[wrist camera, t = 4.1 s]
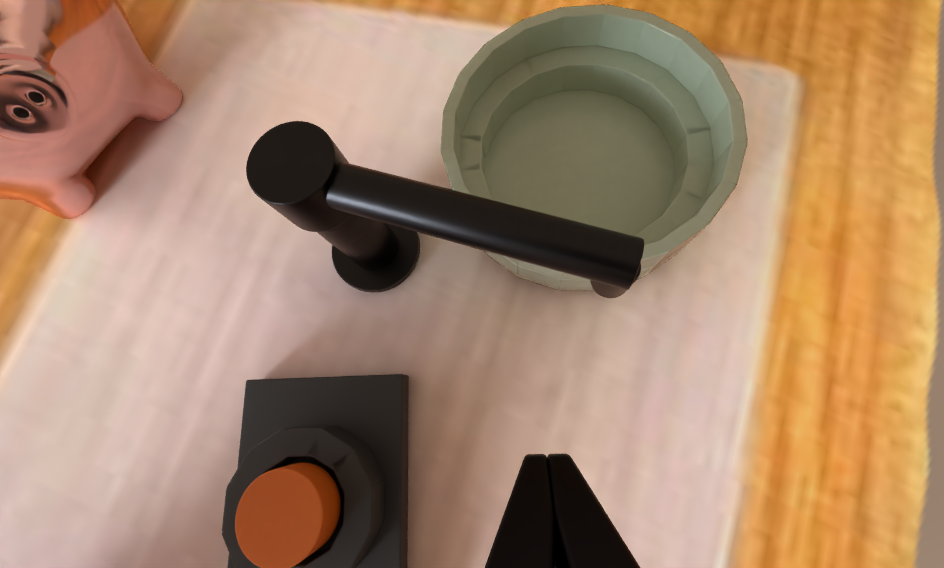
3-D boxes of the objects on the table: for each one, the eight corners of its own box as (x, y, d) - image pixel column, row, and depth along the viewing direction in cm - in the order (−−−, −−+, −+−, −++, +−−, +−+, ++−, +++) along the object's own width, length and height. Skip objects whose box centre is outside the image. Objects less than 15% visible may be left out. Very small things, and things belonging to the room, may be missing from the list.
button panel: (407, 629, 19) (386, 670, 16) (236, 625, 20) (189, 663, 17) (408, 375, 22) (391, 371, 19) (259, 380, 23) (221, 378, 20)
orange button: (339, 555, 18) (320, 571, 16) (256, 554, 18) (229, 570, 17) (343, 461, 19) (325, 467, 17) (264, 463, 19) (239, 469, 18)
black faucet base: (436, 259, 24) (405, 209, 17) (361, 309, 23) (302, 277, 17) (392, 193, 25) (347, 125, 19) (320, 241, 25) (251, 187, 18)
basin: (760, 197, 22) (817, 148, 18) (549, 343, 22) (555, 330, 17) (597, 33, 26) (612, -41, 22) (412, 154, 25) (389, 104, 21)
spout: (282, 228, 18) (230, 191, 15) (312, 161, 19) (268, 111, 16) (618, 326, 16) (642, 307, 12) (638, 245, 16) (667, 207, 13)
